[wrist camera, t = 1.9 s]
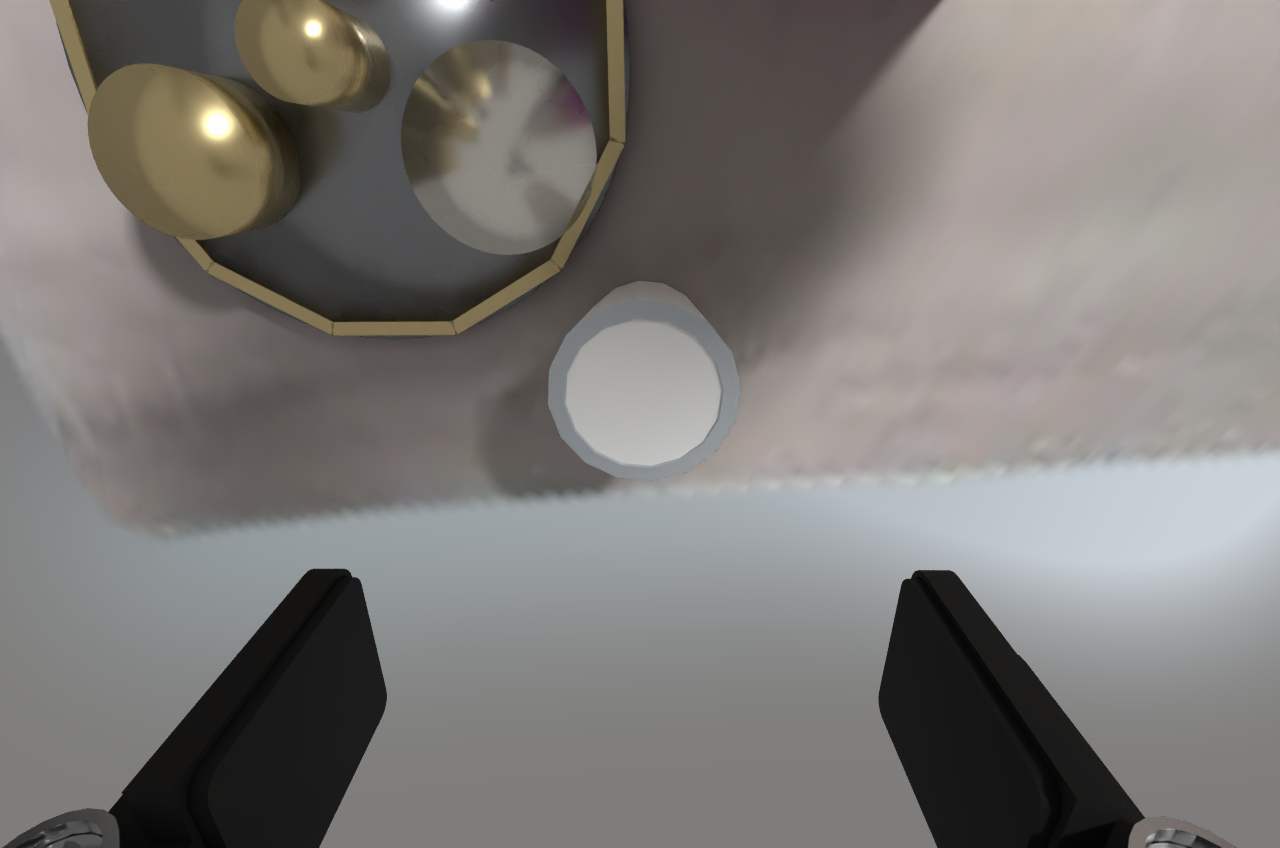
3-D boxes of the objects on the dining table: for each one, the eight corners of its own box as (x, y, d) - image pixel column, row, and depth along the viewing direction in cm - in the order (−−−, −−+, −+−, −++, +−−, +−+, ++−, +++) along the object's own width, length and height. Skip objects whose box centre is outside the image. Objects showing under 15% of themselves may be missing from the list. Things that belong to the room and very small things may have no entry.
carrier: (625, -323, 19) (618, -481, 14) (633, 331, 27) (630, 366, 23) (-33, -309, 19) (-248, -457, 14) (178, 334, 27) (84, 368, 23)
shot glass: (591, 245, 26) (572, 273, 19) (741, 292, 26) (771, 333, 20) (554, 389, 28) (527, 455, 22) (691, 427, 29) (704, 503, 23)
